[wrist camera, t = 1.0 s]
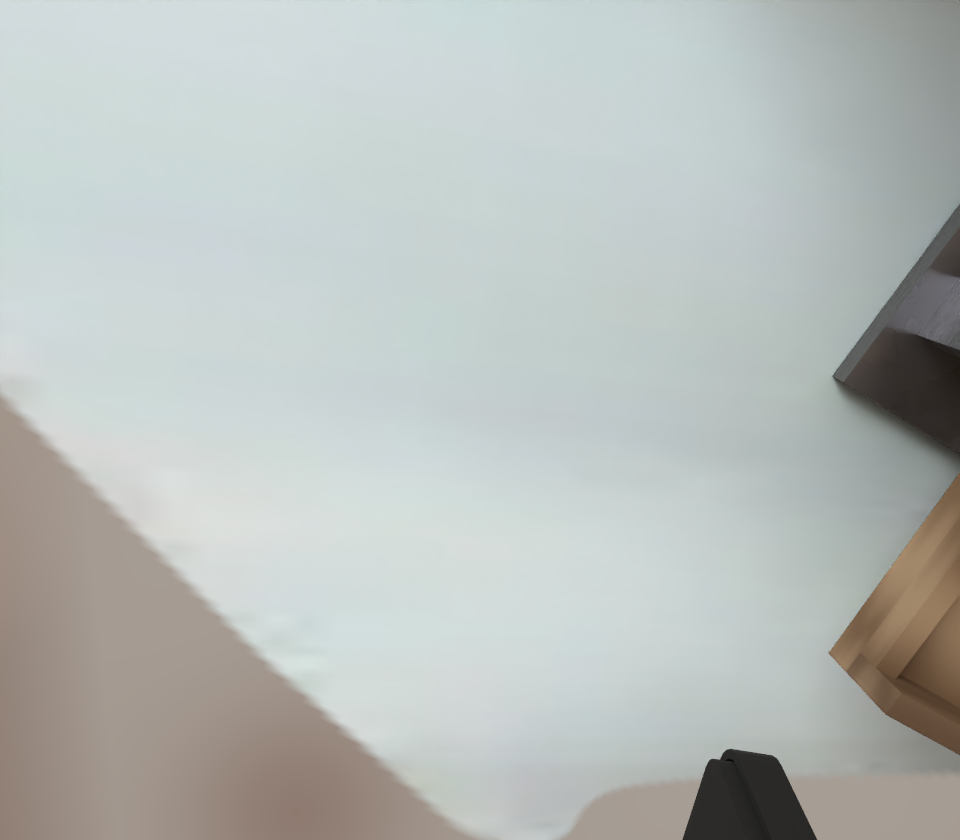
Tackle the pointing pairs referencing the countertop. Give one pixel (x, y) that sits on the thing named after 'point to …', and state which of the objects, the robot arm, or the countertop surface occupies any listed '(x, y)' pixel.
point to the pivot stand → (917, 344)
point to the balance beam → (914, 631)
